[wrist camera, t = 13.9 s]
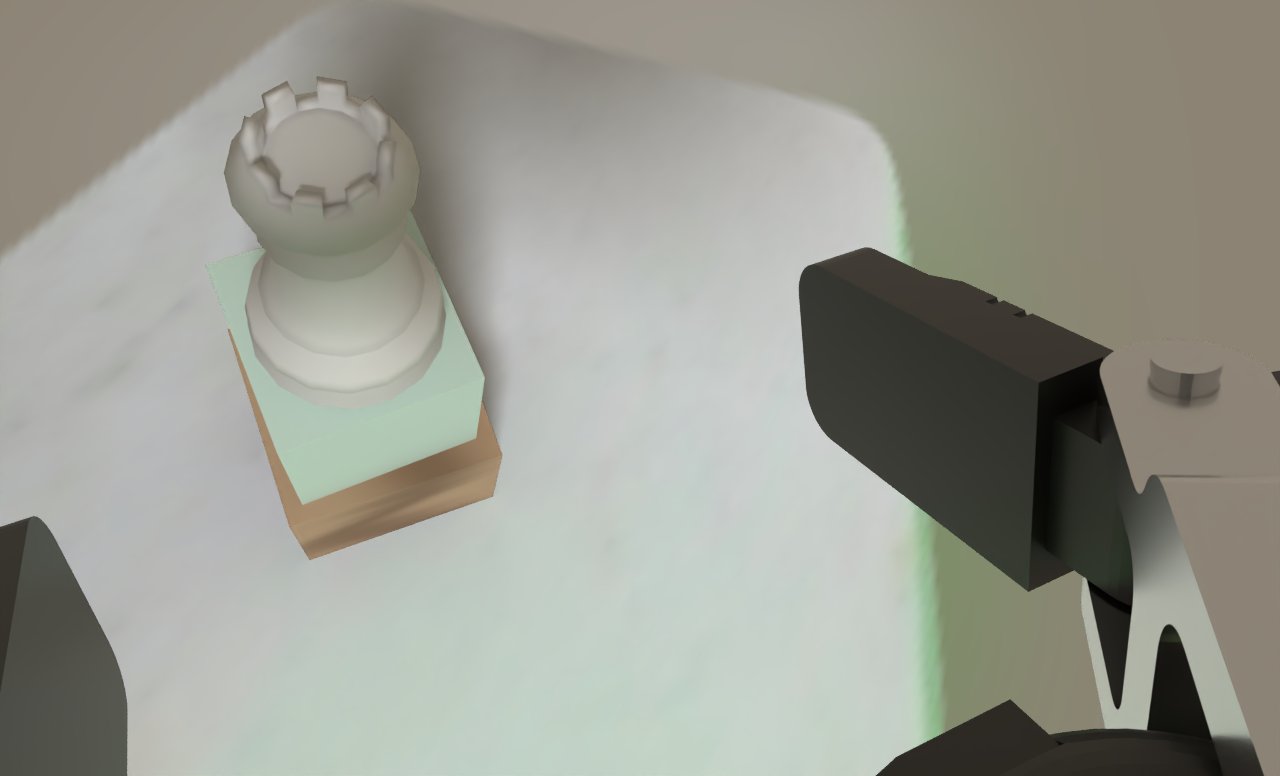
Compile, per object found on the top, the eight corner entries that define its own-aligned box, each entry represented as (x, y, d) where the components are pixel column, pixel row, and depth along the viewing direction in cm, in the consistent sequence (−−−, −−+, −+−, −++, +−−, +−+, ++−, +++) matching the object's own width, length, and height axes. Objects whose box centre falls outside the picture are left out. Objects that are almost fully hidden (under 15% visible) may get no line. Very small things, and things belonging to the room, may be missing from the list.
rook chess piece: (293, 217, 25) (239, -7, 18) (470, 275, 26) (490, 80, 18) (219, 381, 23) (126, 209, 16) (409, 440, 24) (403, 299, 16)
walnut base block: (309, 560, 32) (289, 526, 28) (255, 388, 34) (227, 329, 29) (492, 496, 34) (502, 454, 29) (433, 336, 35) (433, 272, 31)
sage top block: (302, 505, 28) (277, 453, 23) (240, 344, 29) (205, 264, 24) (476, 438, 29) (484, 377, 25) (411, 288, 30) (407, 203, 26)
